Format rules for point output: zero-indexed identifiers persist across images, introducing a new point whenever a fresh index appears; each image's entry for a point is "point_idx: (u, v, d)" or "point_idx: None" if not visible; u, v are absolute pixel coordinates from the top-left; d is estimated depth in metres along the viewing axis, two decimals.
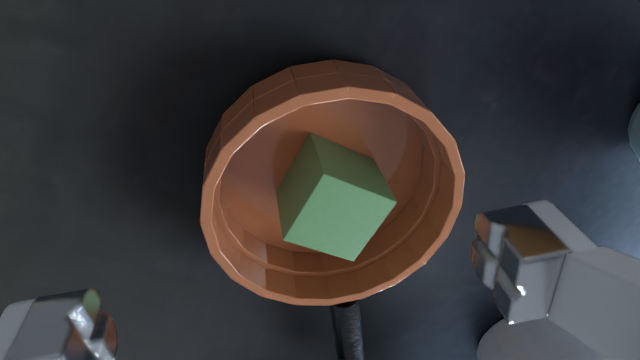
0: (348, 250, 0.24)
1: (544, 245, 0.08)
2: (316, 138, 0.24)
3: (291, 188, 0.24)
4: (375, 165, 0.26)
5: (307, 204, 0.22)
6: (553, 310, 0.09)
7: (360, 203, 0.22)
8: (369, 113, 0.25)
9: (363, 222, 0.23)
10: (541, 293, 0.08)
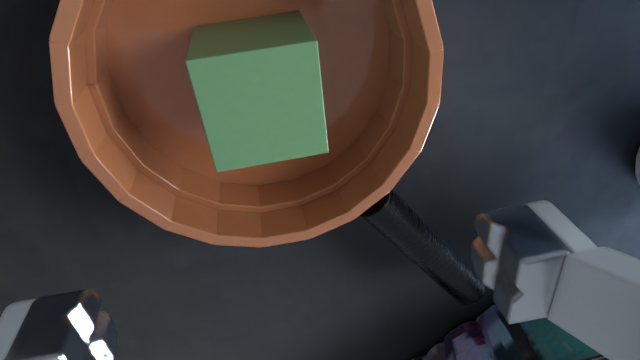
0: (308, 142, 0.17)
1: (544, 245, 0.08)
2: (200, 28, 0.18)
3: None
4: (297, 16, 0.18)
5: (203, 113, 0.16)
6: (553, 310, 0.09)
7: (268, 71, 0.15)
8: None
9: (295, 95, 0.16)
10: (541, 293, 0.08)
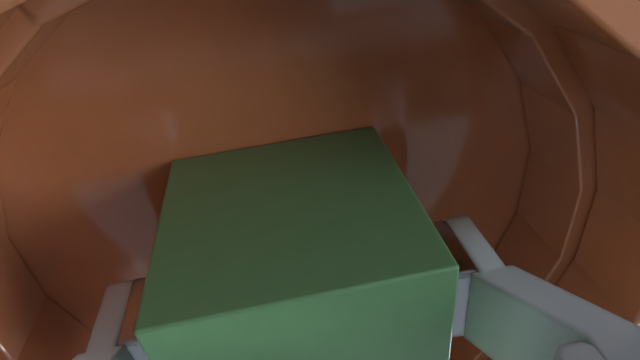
0: None
1: None
2: (182, 172, 0.09)
3: None
4: (375, 146, 0.09)
5: None
6: (469, 328, 0.09)
7: (337, 330, 0.06)
8: (270, 27, 0.08)
9: None
10: None
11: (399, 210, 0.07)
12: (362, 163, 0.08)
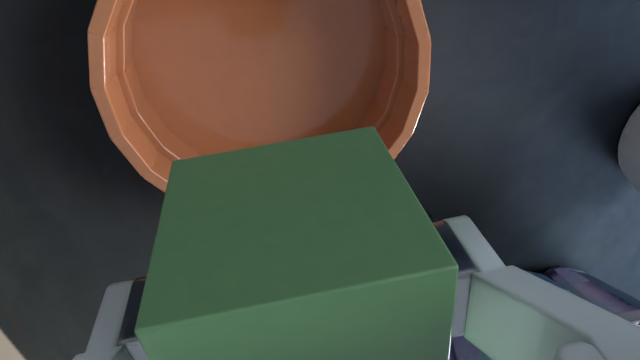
0: None
1: None
2: (183, 172, 0.09)
3: None
4: (375, 146, 0.09)
5: None
6: (469, 329, 0.09)
7: (337, 330, 0.06)
8: None
9: (392, 359, 0.07)
10: None
11: (399, 210, 0.07)
12: (362, 163, 0.09)
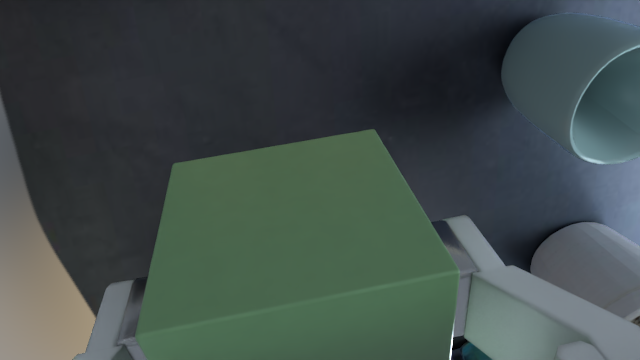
0: None
1: None
2: (183, 175, 0.09)
3: None
4: (375, 149, 0.09)
5: None
6: (469, 328, 0.09)
7: (338, 334, 0.06)
8: None
9: None
10: None
11: (400, 214, 0.07)
12: (363, 166, 0.09)
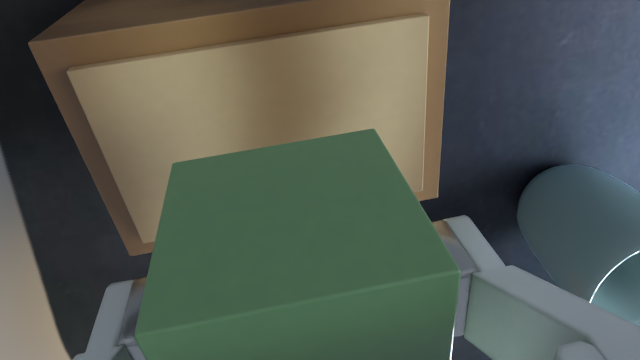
0: None
1: None
2: (183, 174, 0.09)
3: None
4: (376, 148, 0.09)
5: None
6: (469, 328, 0.09)
7: (338, 334, 0.06)
8: None
9: None
10: None
11: (400, 213, 0.07)
12: (363, 165, 0.08)
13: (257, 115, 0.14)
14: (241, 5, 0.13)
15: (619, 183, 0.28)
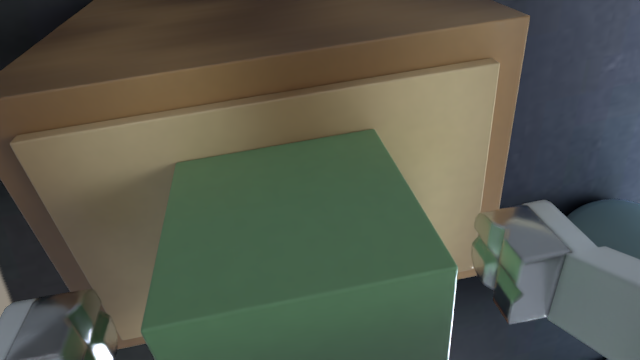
0: None
1: (544, 245, 0.08)
2: (186, 174, 0.09)
3: None
4: (375, 149, 0.09)
5: None
6: (553, 310, 0.09)
7: (338, 329, 0.07)
8: None
9: (392, 359, 0.07)
10: (541, 293, 0.08)
11: (399, 212, 0.07)
12: (363, 165, 0.09)
13: None
14: (248, 49, 0.10)
15: None
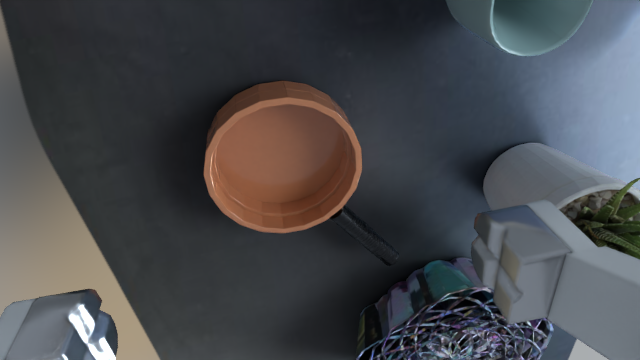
0: None
1: (544, 245, 0.08)
2: None
3: None
4: None
5: None
6: (553, 310, 0.09)
7: None
8: (277, 106, 0.40)
9: None
10: (541, 293, 0.08)
11: None
12: None
13: None
14: None
15: None
